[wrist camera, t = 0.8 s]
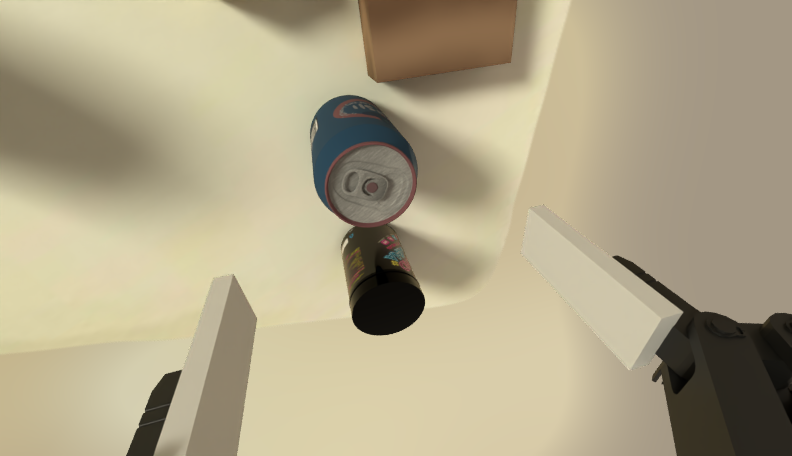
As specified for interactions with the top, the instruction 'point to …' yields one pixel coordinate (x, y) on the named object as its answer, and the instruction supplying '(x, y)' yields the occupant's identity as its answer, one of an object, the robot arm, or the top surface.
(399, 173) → the soda can
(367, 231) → the supplement container
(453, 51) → the walnut slab
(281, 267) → the top surface
